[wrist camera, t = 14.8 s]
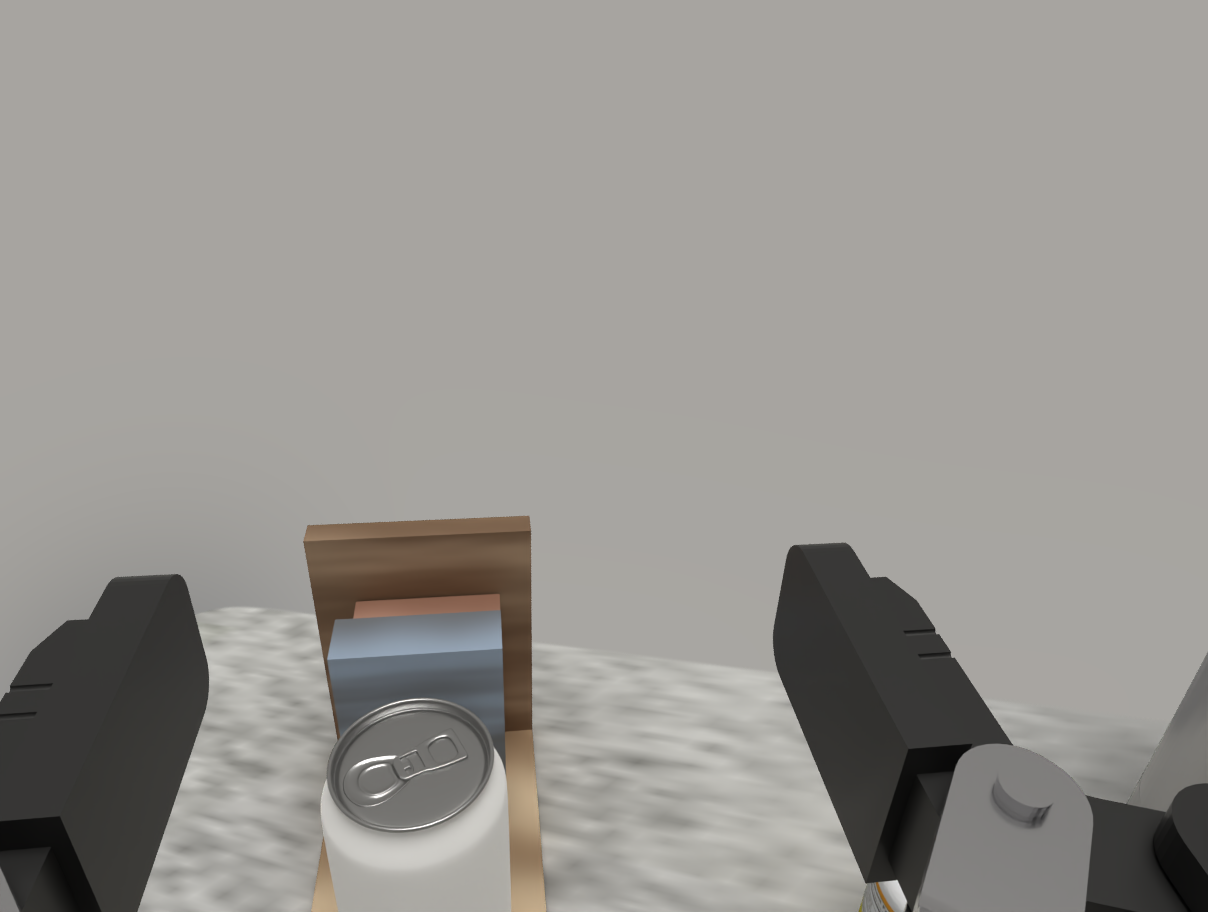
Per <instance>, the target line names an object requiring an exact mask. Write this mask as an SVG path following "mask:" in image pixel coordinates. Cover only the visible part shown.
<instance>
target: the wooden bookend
mask: <svg viewBox="0 0 1208 912" xmlns="http://www.w3.org/2000/svg"><path fill="white" fill-rule="evenodd" d="M303 542H304V548H305V553H306V559H307V564H308V570H309V577H310V582H311V588H312V594H313V600H314V606H315V611H316V617H317V623H318V629H319V635H320V641H321V646H322V652H323V658H324V664H325V670H326V675H327V681H328V687H329V693H330V699H331V704H332V710H333V716H334V722H335V728H336V733H337V739H338V740H339V738H340V737H341V736H342V734H343V733H344V732H345V731H346V730H347V729H348V728H349V727H350V726H351V725H352V724H353V723H354V722H355V721H357V720H358V719H359V718H361V717H362V716H364V715H365V714H367V713H368V712H370V711H372V710H374V709H376V708H378V707H380V706H383V705H385V704H388V703H391V702H395V701H399V700H403V699H410V698H436V699H442V700H447V701H450V702H453V703H456V704H458V705H461V706H463V707H465V708H466V709H468V710H470V711H471V712H472V713H474V714H475V715H476V716H477V717H478V718H479V719H480V720H481V721H482V722H483V723H484V725H485V726H486V728H487V729H488V731H489V733H490V735H491V738H492V741H493V746H494V748H495V749H496V751H497V753H498V754H499V756H500V758H501V760H502V763H503V766H504V770H505V775H506V781H507V793H508V816H509V846H510V881H511V912H546V903H545V890H544V877H543V864H542V851H541V838H540V825H539V812H538V799H537V786H536V773H535V761H534V748H533V735H532V634H531V528H530V518H529V516H514V517H491V518H469V519H447V520H446V519H445V520H425V521H424V520H422V521H398V522H375V523H352V524H330V525H308V526H307V530H306V534H305V537H304V541H303ZM311 912H338V908H337V903H336V898H335V892H334V887H333V882H332V877H331V872H330V867H329V862H328V856H327V851H326V846H325V840H324V836H323V842H322V849H321V855H320V861H319V867H318V873H317V879H316V886H315V892H314V898H313V904H312V910H311Z"/></svg>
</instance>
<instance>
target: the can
mask: <svg viewBox="0 0 1208 912" xmlns="http://www.w3.org/2000/svg"><path fill="white" fill-rule="evenodd" d="M321 822H322V828H323V835H324V840H325V846H326V851H327V856H328V862H329V867H330V872H331V877H332V882H333V887H334V892H335V898H336V903H337V908H338V912H511V881H510V846H509V816H508V793H507V781H506V775H505V770H504V766H503V763H502V760H501V758H500V756H499V754H498V753H497V751H496V749H495V748H494V746H493V741H492V738H491V735H490V733H489V731H488V729H487V728H486V726H485V725H484V723H483V722H482V721H481V720H480V719H479V718H478V717H477V716H476V715H475V714H474V713H472V712H471V711H470V710H468V709H466V708H465V707H463V706H461V705H458V704H456V703H453V702H450V701H447V700H442V699H436V698H410V699H403V700H399V701H395V702H391V703H388V704H385V705H383V706H380V707H378V708H376V709H374V710H372V711H370V712H368V713H367V714H365V715H364V716H362V717H361V718H359V719H358V720H357V721H355V722H354V723H353V724H352V725H351V726H350V727H349V728H348V729H347V730H346V731H345V732H344V733H343V734H342V736H341V737H340V738H339V740H338V741H337V743H336V744H335V746H334V748H333V750H332V752H331V755H330V758H329V761H328V766H327V779H326V781H325V785H324V788H323V791H322V796H321Z"/></svg>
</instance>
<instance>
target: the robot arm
mask: <svg viewBox="0 0 1208 912" xmlns="http://www.w3.org/2000/svg"><path fill="white" fill-rule="evenodd" d="M773 647H774V656H775V662H776V666H777V670H778V673H779V675H780V678H781V680H782V683H783V685H784V687H785V690H786V692H787V695H788V697H789V700H790V702H791V704H792V707H793V709H794V712H795V714H796V716H797V719H798V721H799V724H800V726H801V728H802V731H803V733H804V736H805V738H806V741H807V743H808V745H809V748H810V750H811V753H812V755H813V757H814V760H815V762H816V765H817V767H818V770H819V772H820V774H821V777H822V779H823V782H824V784H825V786H826V789H827V791H828V794H829V796H830V798H831V801H832V803H833V806H834V808H835V811H836V813H837V815H838V818H839V820H840V823H841V825H842V827H843V830H844V832H845V835H846V837H847V839H848V842H849V844H850V847H851V849H852V852H853V854H854V856H855V859H856V861H857V864H858V866H859V868H860V871H861V873H862V876H863V878H864V881H865V883H875V882H885V881H895V880H898V883H899V885H900V887H901V889H902V891H903V894H904V896H905V898H906V900H907V902H906V905H905V908H904V911H903V912H1208V653H1207V655H1206V657H1205V658H1204V660H1203V662H1202V664H1201V666H1200V668H1199V670H1198V672H1197V673H1196V675H1195V677H1194V679H1193V681H1192V683H1191V685H1190V687H1189V689H1188V690H1187V692H1186V694H1185V696H1184V698H1183V700H1182V702H1181V704H1180V705H1179V707H1178V709H1177V711H1176V713H1175V715H1174V717H1173V719H1172V721H1171V722H1170V724H1169V726H1168V728H1167V730H1166V732H1165V734H1164V736H1163V738H1162V739H1161V741H1160V743H1159V745H1158V747H1157V749H1156V751H1155V753H1154V754H1153V756H1152V758H1151V760H1150V762H1149V764H1148V766H1147V768H1146V769H1145V771H1144V773H1143V775H1142V776H1141V778H1140V780H1139V782H1138V784H1137V786H1136V788H1135V790H1134V792H1133V793H1132V795H1131V797H1130V799H1129V801H1128V803H1127V804H1123V803H1118V802H1113V801H1108V800H1103V799H1098V798H1094V797H1090V796H1086V795H1085V794H1084V793H1083V791H1082V790H1081V788H1080V787H1079V786H1078V784H1077V783H1076V782H1075V781H1074V780H1073V779H1072V778H1071V777H1070V776H1069V775H1068V774H1067V773H1066V772H1065V771H1064V770H1062V769H1061V768H1060V767H1058V766H1057V765H1056V764H1054V763H1053V762H1051V761H1049V760H1048V759H1046V758H1044V757H1043V756H1041V755H1038V754H1036V753H1034V752H1032V751H1029V750H1026V749H1023V748H1020V747H1017V746H1013V744H1012V743H1011V742H1010V740H1009V739H1008V737H1007V736H1006V734H1005V733H1004V731H1003V730H1002V728H1001V727H1000V725H999V724H998V722H997V721H996V719H995V718H994V716H993V715H992V713H991V712H990V710H989V709H988V707H987V706H986V704H985V703H984V701H983V700H982V698H981V697H980V695H979V694H978V692H977V691H976V689H975V688H974V686H973V685H972V683H971V682H970V680H969V678H968V677H967V675H966V674H965V672H964V671H963V669H962V668H961V666H960V665H959V663H958V662H957V660H956V659H955V658H951V652H950V650H949V648H948V647H947V645H946V644H945V642H944V641H943V639H942V638H941V636H940V635H939V634H937V635H936V633H935V627H934V626H933V624H932V623H931V621H930V620H929V618H928V617H927V615H926V614H925V612H924V611H923V610H922V608H921V607H920V605H919V603H918V602H917V601H916V600H915V599H914V598H913V597H911V596H910V595H909V594H908V593H906V592H905V591H904V590H902V589H901V588H900V587H899V586H897V585H896V584H895V583H893V582H892V581H891V580H889V579H888V578H887V577H877V578H870V577H869V575H868V574H867V572H866V570H865V568H864V567H863V565H862V564H861V562H860V560H859V559H858V557H857V556H856V554H855V552H854V551H853V549H852V548H851V547H850V546H849V545H848V544H846V543H829V544H809V545H794V546H792V547H791V548H790V550H789V552H788V554H787V559H786V563H785V569H784V574H783V580H782V585H781V591H780V596H779V602H778V607H777V613H776V618H775V624H774V630H773ZM208 692H209V671H208V664H207V659H206V655H205V652H204V648H203V644H202V640H201V637H200V633H199V629H198V625H197V621H196V618H195V614H194V610H193V606H192V603H191V599H190V595H189V591H188V588H187V585H186V582H185V580H184V579H183V577H181V575H178V574H171V575H153V576H131V577H116V578H114V579H112V580H111V581H110V582H109V584H108V585H107V587H106V589H105V590H104V592H103V594H102V596H101V598H100V599H99V601H98V603H97V605H96V607H95V608H94V610H93V612H92V614H91V616H90V618H89V619H88V620H70V621H66V622H65V623H64V624H63V625H62V626H60V627H59V628H58V629H57V630H56V631H54V632H53V633H52V634H51V635H50V636H49V637H47V638H46V639H45V640H44V641H43V642H41V643H40V644H39V645H38V646H37V647H36V648H35V649H33V650H32V651H31V652H30V654H29V655H28V657H27V659H26V661H25V662H24V664H23V666H22V667H21V669H20V670H19V672H18V674H17V675H16V677H15V678H14V680H13V682H12V683H11V685H10V692H9V693H5V695H4V697H3V698H2V700H1V701H0V912H137V911H138V908H139V905H140V902H141V899H142V896H143V893H144V890H145V887H146V884H147V881H148V878H149V875H150V873H151V870H152V867H153V864H154V861H155V858H156V855H157V852H158V849H159V846H160V843H161V840H162V837H163V834H164V831H165V828H166V825H167V822H168V819H169V816H170V814H171V811H172V808H173V805H174V802H175V799H176V796H177V793H178V790H179V787H180V784H181V781H182V778H183V775H184V772H185V769H186V766H187V763H188V760H189V758H190V755H191V752H192V749H193V746H194V743H195V740H196V737H197V734H198V731H199V728H200V725H201V722H202V719H203V716H204V713H205V710H206V705H207V700H208Z"/></svg>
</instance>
